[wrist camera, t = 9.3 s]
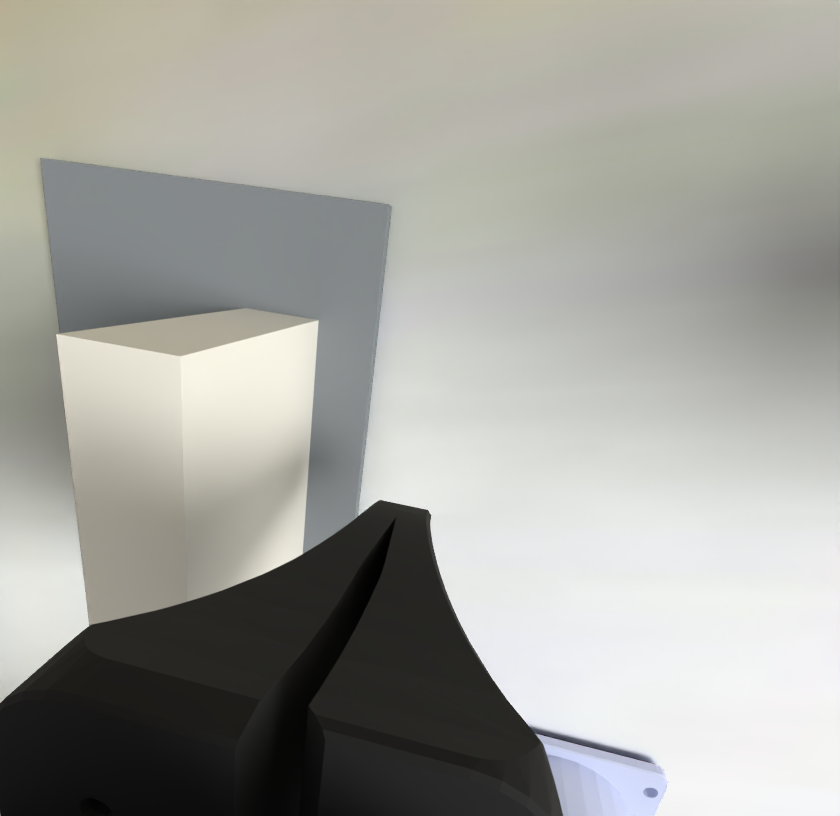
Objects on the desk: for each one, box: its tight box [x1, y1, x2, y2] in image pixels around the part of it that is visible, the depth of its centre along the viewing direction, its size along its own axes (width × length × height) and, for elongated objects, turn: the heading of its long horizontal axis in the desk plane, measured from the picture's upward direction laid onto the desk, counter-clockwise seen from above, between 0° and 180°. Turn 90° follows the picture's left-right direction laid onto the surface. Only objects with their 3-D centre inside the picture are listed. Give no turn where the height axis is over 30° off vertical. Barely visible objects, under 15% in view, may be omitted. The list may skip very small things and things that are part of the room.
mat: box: [40, 158, 392, 554], centre depth 16 cm, size 16×11×1 cm
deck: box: [56, 308, 319, 626], centre depth 12 cm, size 9×2×6 cm, turn 172°
